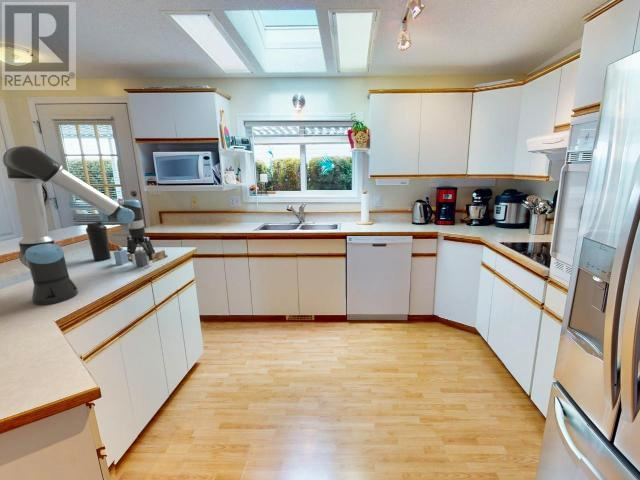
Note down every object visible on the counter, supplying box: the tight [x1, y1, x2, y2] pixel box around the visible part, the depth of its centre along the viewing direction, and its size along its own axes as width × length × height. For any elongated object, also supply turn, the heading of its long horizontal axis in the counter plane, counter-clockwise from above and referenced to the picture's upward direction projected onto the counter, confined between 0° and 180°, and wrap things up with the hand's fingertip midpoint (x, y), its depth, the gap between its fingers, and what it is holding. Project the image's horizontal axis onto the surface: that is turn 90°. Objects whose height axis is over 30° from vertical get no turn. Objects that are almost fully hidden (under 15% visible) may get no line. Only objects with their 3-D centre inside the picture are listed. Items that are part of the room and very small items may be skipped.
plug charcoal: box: [134, 248, 148, 268], centre depth 171 cm, size 4×4×10 cm
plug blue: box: [113, 246, 130, 266], centre depth 175 cm, size 4×4×10 cm
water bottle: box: [85, 221, 112, 262], centre depth 182 cm, size 10×10×23 cm
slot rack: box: [127, 248, 169, 264], centre depth 184 cm, size 12×20×4 cm, turn 75°
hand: (143, 265), depth 172 cm, fingers open, 10 cm apart
